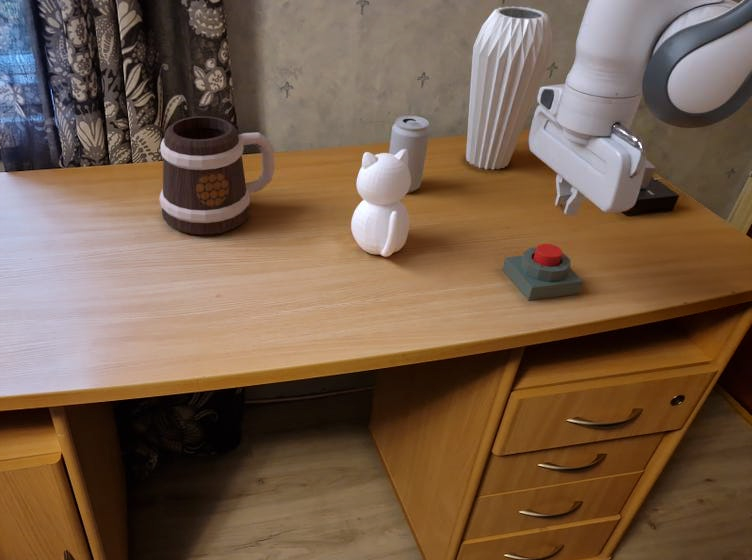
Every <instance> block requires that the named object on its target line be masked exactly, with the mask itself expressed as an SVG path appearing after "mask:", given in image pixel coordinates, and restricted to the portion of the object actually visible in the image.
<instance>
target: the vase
mask: <svg viewBox="0 0 752 560" xmlns="http://www.w3.org/2000/svg"><path fill="white" fill-rule="evenodd" d="M552 55H553V29H552V25H551V20H550V17H549V14H548V13H547V12H544V11H543V10H539V9H537V8H531V7H524V6H504V7H498V8H495V9H494V10H493V11H492V12H491V13H490V15H489V16H488V17H487V19H486V20H485V22H484V23H483V24H482V25H481V27H480V30H479V32H478V34H477V36H476V38H475V41H474V44H473V46H472V57H471V62H472V63H471V73H470V89H469V103H468V119H467V136H466V149H465V150H466V151H465V152H466V153H465V154H466V155H465V159H466V162H469V165H473V167H478V168H479V169H484V170H489V169H490V170H492V171H494V170H495V169H496V170H500V169H505V167H508V165H509V164H510V161H511V158H512V156H513V153H514V151H515V149H516V146H517V144H518V142H519V139H520V136H521V133H522V131H523V129H524V126H525V124H526V121H527V119H528V116H529V113H530V111H531V108H532V106H533V104H534V101H535V98H536V95H537V94H538V92H539V89H540V86H541V83H542V80H543V78H544V75H545V73H546V71H547V68H548V66H549V62H550V60H551V58H552Z"/></svg>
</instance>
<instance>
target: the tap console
mask: <svg viewBox="0 0 752 560" xmlns="http://www.w3.org/2000/svg"><path fill="white" fill-rule="evenodd" d="M661 180H662V178H661V177H658V178H657V177H654V176H653V175H652V178H651V180H650V183H649V185H648V188H647V189H640V191H639V194H638V197H637V200H636V203H635V205H634V206H633V207H632V208H630V209H629V210H627V211H622V212H621V213H622V214H623V215H624V216H626V217H631V216H641V215H649V214H659V213H668V212H673V211H674V209H675V207H676V204H677V202H678V200H679V197H680V194H678V193H677V192H675V191H674V190H673V189H672V188H670V187H668V186H667V185H666V184H664V183H662V182H661Z"/></svg>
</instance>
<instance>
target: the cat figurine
mask: <svg viewBox="0 0 752 560" xmlns="http://www.w3.org/2000/svg"><path fill="white" fill-rule="evenodd" d="M408 158H409V156H408V151H407V149H402V150H401V151H399V152H398V153H397V154H396V155H393V154H389V152H381V153H377V154H373V153H372V152H369V151H365V152H364V153H363V155H362V159H361V167H360V169H359V171H358V173H357V178H356V184H355V185H356V186H355V187H356V190H357V193H358V195H359V196H360V197H361V198H362V199H363V200H361V202H360V203H359V204H358V205H357V206H356V208H355V209H354V212H353V214H352V217H351V221H350V222H351V223H350V229H351V233H352V236H353V239H354V240H355V242H356V244H357V245H358V246H359V247H360V249H362V250H363V251H364V252H366V253H368V254H370V255H380V256H382V257H386V258H387V257H390V256H391V255H392V254H393V253H396V252H399V251H400V250H401V249H402V248H403V247H404V246H405V244H406V242H407V239H408V236H409V230H410V216H409V211H408V209H407V207H406V205H405V204H404V203H403V201H401V200H402V199H403V198H405V197H406V195H407V194H408V193H407V192H408V190H409V187H410V184H411V177H410V172H409V169H408V167H407V165H408Z"/></svg>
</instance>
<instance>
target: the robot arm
mask: <svg viewBox="0 0 752 560" xmlns="http://www.w3.org/2000/svg"><path fill="white" fill-rule="evenodd" d="M576 37H577V38H576V41H575V58H574V62H573V65H572V66H571V69H570V70H569V72H568V74H567V76H566V79H565V82H564V83H559V84H551V85H544V86H541V87H539V89H538V92H537V101H536V102H537V103H538V106H537V107H536V109H535V111H534V114H533V116H532V121H531V126H530V130H529V134H528V147H529V152H530V153H532V154H533V155H534V156H536V157H537V158H538V159H539V160H540V161H542V162H543V163H544V164H545V165H547V166H548V167H549V168H550V169H551V170H553V171H554V172H555V173H556V177H555V186H556V194H557V196H556V198H555V201H554V206H555V207H557V208H558V209H559V210H560V211H561V212H562V213H563V214H564V215H566V216H567V217H570V216H575V215H577V214H578V213H579V211H580V206H581V204H583V202H585V201H586V200H587V199H588V200H589V201H590V202H591V203H592V204H594V206H596V207H597V208H598V209H600V210H601V211H602V212H603V213H605V214H614V213H622V211H627V210H629V209H630V208H632V207H633V206H634V205H635V203H636V200H637V197H638V194H639V191H640V187H641V183H642V180H643V175H644V171H645V165H646V159H647V157H646V156H647V151H646V150H645V146H644V144H643V140H644V139H642V137H641V136H640V135H639V134H637V133H634V132H632V131H631V128H632V126H633V123H634V119H635V116H636V114H637V111H638V109H639V105H640V103H641V100H642V99H643V101H644V103H645V106H646V107H647V109H648V110H649V111H650V113H651V114H652V115H653V116H655V117H656V118H657V119H658V120H660V121H661V122H663V123H665V124H667V125H670V126H673V127H677V128H683V129H698V128H705V127H709V126H711V125H715V124H717V123H719V122H721V121H724V120H726V119H727V118H730V117H731V116H732V115H734V114H736V112H738V111H739V110H740V109H741V108H742V107H744V105H745V104H746V103H747V102H748V101H749V100H750V98H751V97H752V0H741V1H739V2H737V1H734V0H588V3H587V5H586V8H585V10H584V14H583V16H582V20H581V24H580V27H579V30H578V34H577V36H576Z"/></svg>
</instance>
